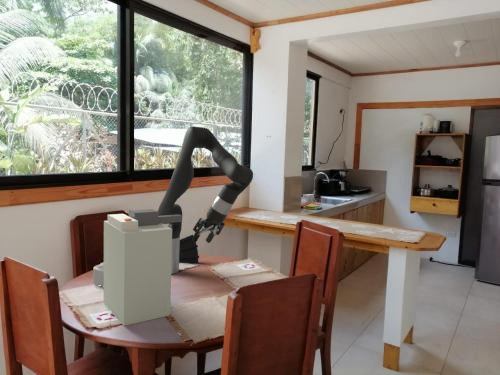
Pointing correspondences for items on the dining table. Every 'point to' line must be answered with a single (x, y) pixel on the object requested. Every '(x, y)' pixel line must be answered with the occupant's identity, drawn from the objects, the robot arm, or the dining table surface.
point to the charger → (152, 217)
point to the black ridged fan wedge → (188, 251)
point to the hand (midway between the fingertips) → (200, 241)
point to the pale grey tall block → (137, 269)
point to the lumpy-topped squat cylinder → (98, 274)
